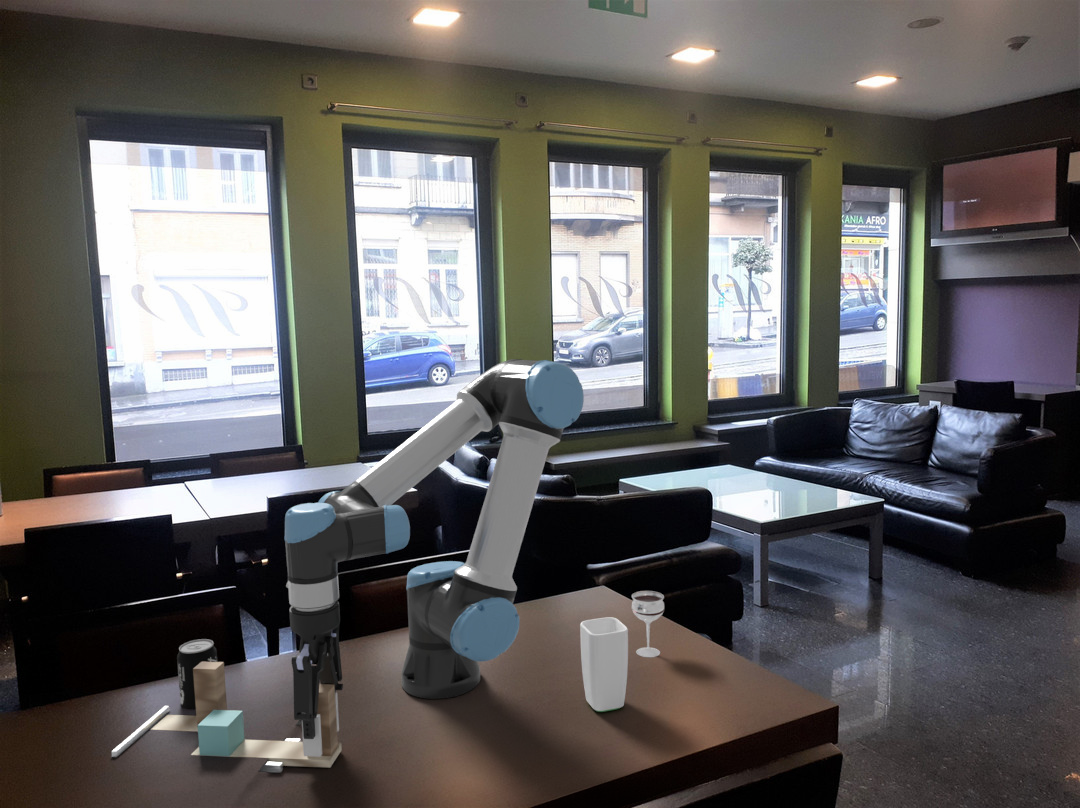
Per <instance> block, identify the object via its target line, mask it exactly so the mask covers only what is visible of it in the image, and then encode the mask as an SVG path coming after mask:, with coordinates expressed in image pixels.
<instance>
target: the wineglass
mask: <svg viewBox="0 0 1080 808" xmlns="http://www.w3.org/2000/svg"><path fill="white" fill-rule="evenodd" d="M631 598H632V602H631V610H632V613H633V614H634V616H635V617H636V618H637V619H639V620H641V621H643V622H644V623H645V626H646V629H645V630H646V647H645V646H644V647H640V648H638V649H637V650H636V651H635V653H636V654H637V655H638V656H640V657H643V658H656V657H658V656H660V654H661V651H660V650H659V649H657V648H655V647H650V633H651V632H650V630H651V623H653V622H654V621H657V620H658V619H659V618H660V617H661V616H663V613H664V612H665V602H664V601H663V600H664V599H665V596H664V594H662V593H661V592H658V591H655V590H654V591H653V590H640V591H636V592H634V593H632V594H631Z"/></svg>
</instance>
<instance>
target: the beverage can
mask: <svg viewBox="0 0 1080 808" xmlns="http://www.w3.org/2000/svg"><path fill="white" fill-rule="evenodd" d="M178 650H179V651H178V654H177V655H176V660H177V661H176V662H177V674H178V675H177V676H178V687H179V689H178V690H179V699H180V702H179V703H180V707H181V708H182V709H185V710H193V711H194V710H195V711H196V703H195V689H194V676H193V668H194V667H196V666H197V665H198V664H199V663H201V662H218V654H217V653H218V651H217V648H216V647H215V646H214V641H213V640H212V639H207V638H201V639H193V640H189V641H187V642H184V643H183V644H181V645H179V647H178Z"/></svg>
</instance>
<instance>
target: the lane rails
mask: <svg viewBox="0 0 1080 808" xmlns="http://www.w3.org/2000/svg"><path fill="white" fill-rule="evenodd" d="M170 709H171V708H170V706H169V705H164V706H163V707H161V709H159V711H157V712H155V714H153V715H152V716H151V717H150V718H149V719H148V720H146V721H145V722H144V723H143V724H142V725H140V727H138V728H137V729H136V730H135V731H133V732H132V733H131V734H130V735H129V736H128V737H126V738H125V739H124V740H123V741H121V743H119V744H118V745H116V747H115V748H113V750H111V758H112V757H113V758H117V757H118V756H120V755H121V754H122V753H124V751H125V750H127V749H128V748H130V746H131V745H132V744H134V743H135V742H136V741H137V740H138V739H139V738H141V737H142V735H144V734H145V733H146V732H148V730H150V729H152V728H153V727H154V726H155V725H156V724H157V723H158V722H160V721H161V720H162V719H163V718H164V717H165V716H166V715H168V713H169V712H170V711H171V710H170ZM294 726H296V727H299V726H300V727H302V720H297V722H296V723H295V725H294ZM282 741H297V742H302V738H295V737H293V738H290V737H289V738H287V737H285V738H283V740H282ZM283 770H284V766H283V763H282V762H266V761H265V762H264V764H263V765H262V766H261V767H260V769H259V770H258V773H282V772H283Z"/></svg>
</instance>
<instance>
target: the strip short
mask: <svg viewBox="0 0 1080 808" xmlns="http://www.w3.org/2000/svg"><path fill="white" fill-rule="evenodd" d="M225 673H226V670H225V662H224V661H217V662H201V663H199V664H198V665H197V666H196V667H194V668H193V676H194V689H195V703H196V709H195V713H196V714H195V715H182V714H166V715H165V716H163V717H162V718H161V719H160V720H159V721H158V722H156V723H155V724H154V725H153V726H152V727H151V728H150V729H149V730H150V731H168V732H169V731H173V732H175V731H176V732H177V731H178V732H197V733H198V724H199V723H200V722H201V721H203V720H204V719H205V718H206V717H207V716H208V715H209V714H210V713H211V712H212V711H213V710H228V702H227V691H226V690H227V689H226V675H225Z"/></svg>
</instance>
